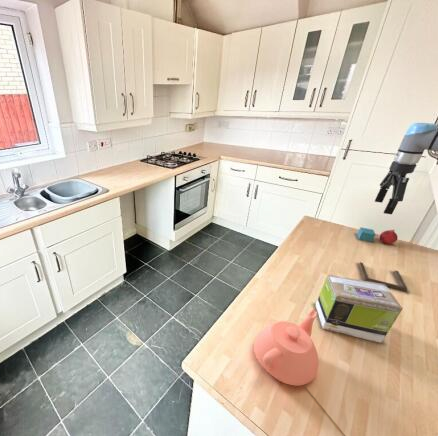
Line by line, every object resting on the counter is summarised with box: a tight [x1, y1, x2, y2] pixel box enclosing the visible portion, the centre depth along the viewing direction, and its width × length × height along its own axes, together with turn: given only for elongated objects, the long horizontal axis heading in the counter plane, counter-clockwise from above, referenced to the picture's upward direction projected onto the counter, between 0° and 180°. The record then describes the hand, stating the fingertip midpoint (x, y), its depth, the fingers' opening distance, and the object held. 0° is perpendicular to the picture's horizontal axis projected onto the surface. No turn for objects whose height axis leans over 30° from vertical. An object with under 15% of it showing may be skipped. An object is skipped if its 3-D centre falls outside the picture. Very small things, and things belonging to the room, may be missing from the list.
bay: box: [358, 261, 408, 293], centre depth 94 cm, size 11×12×2 cm
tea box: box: [315, 274, 403, 343], centre depth 73 cm, size 15×10×15 cm
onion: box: [379, 228, 398, 245], centre depth 112 cm, size 6×6×8 cm
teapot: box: [253, 309, 319, 387], centre depth 64 cm, size 22×15×12 cm
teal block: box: [356, 227, 376, 243], centre depth 117 cm, size 5×5×5 cm
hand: (382, 207), depth 112 cm, fingers open, 13 cm apart
